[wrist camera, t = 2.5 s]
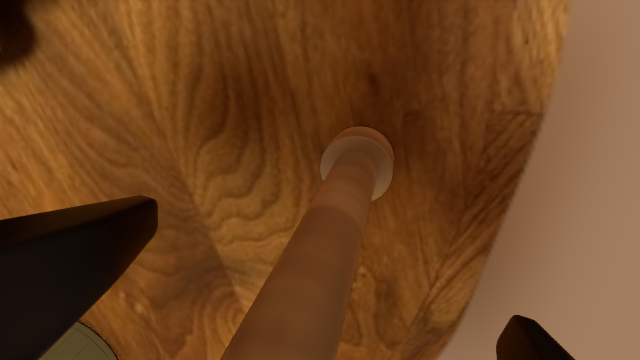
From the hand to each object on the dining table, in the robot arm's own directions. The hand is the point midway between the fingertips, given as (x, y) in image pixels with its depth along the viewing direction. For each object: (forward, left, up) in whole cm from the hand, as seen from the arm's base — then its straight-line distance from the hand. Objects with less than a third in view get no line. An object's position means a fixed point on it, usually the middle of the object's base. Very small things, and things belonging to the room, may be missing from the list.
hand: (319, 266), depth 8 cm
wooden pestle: (0, 0, -8) cm, 8 cm away
